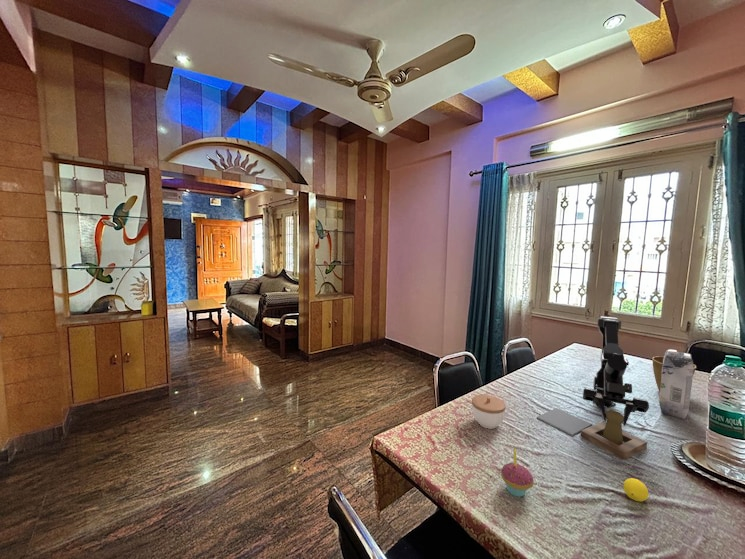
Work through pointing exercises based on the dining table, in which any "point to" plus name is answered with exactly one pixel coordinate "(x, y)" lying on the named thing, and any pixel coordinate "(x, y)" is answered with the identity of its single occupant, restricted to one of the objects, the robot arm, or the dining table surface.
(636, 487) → the lemon
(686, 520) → the dining table surface
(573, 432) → the grey mat
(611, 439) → the cork
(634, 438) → the socket block
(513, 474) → the cupcake
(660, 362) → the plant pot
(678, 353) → the juice carton
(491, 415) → the lidded bowl
